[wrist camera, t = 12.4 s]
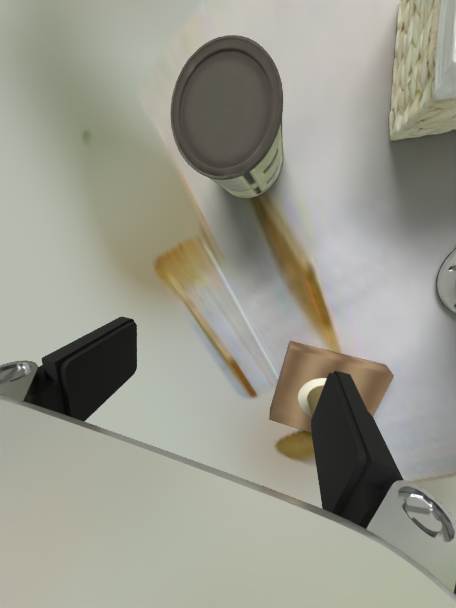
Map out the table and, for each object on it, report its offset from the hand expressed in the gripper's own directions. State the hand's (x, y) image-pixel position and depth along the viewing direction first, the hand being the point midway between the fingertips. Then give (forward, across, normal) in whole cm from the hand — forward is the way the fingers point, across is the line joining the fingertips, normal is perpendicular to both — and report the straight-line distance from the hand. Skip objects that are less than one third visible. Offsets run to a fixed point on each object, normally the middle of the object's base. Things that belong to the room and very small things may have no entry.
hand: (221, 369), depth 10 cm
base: (+28, -15, +20) cm, 38 cm away
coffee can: (+29, +6, -16) cm, 33 cm away
